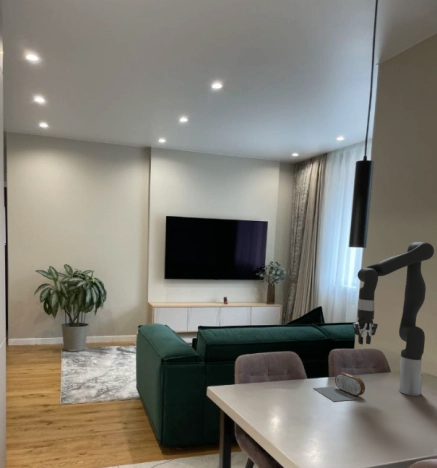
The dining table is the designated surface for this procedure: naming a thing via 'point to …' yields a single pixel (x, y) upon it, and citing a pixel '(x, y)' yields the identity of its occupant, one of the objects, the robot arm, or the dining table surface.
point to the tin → (350, 384)
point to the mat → (334, 394)
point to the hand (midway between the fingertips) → (364, 343)
